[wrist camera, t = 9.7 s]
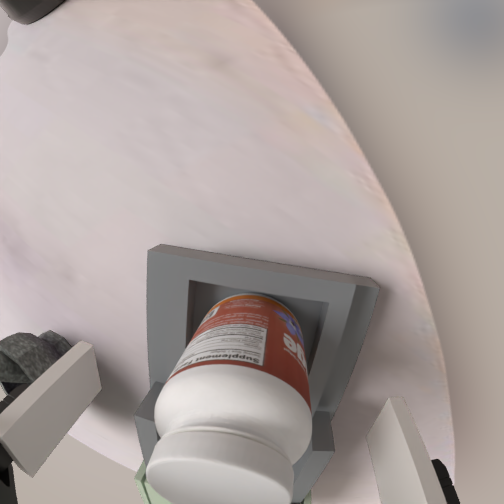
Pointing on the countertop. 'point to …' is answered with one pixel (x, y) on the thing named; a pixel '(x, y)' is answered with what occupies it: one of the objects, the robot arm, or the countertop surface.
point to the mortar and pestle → (28, 357)
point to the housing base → (279, 288)
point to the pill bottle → (234, 408)
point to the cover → (154, 500)
